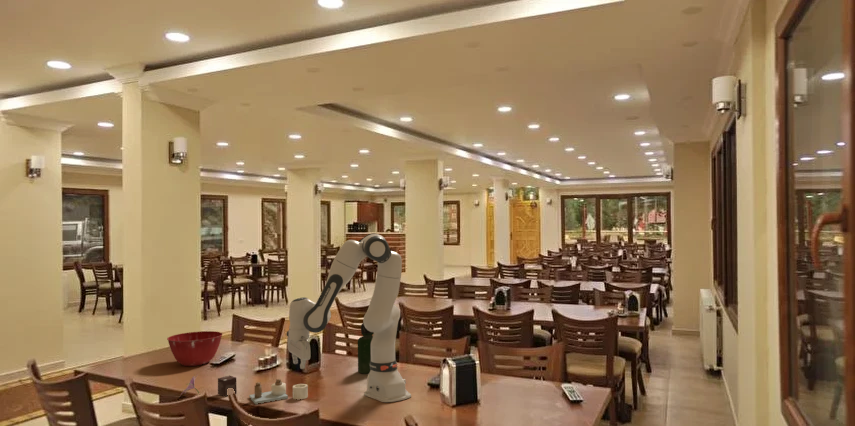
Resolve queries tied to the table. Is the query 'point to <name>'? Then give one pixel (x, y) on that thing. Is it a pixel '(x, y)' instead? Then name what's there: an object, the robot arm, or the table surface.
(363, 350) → the spray bottle
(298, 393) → the ring
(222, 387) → the box
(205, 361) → the mixing bowl
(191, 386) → the lily
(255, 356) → the table surface
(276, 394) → the stand
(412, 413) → the table surface
